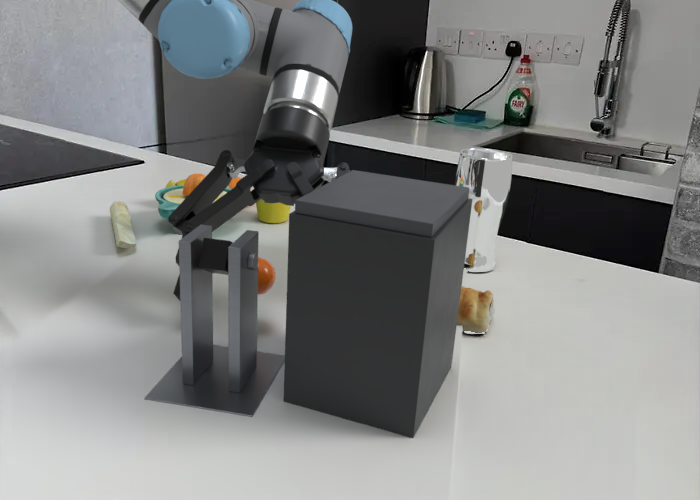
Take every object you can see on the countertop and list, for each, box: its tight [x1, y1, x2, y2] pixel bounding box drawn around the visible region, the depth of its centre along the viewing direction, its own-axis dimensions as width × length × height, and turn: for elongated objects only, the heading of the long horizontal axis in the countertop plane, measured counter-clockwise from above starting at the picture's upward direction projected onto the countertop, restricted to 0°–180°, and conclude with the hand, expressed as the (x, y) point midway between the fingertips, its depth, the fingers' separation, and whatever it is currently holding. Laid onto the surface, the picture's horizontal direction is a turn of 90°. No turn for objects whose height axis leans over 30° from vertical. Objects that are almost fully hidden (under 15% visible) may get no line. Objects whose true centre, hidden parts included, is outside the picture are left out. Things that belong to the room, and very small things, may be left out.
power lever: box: [199, 238, 277, 296], centre depth 60 cm, size 14×4×4 cm, turn 169°
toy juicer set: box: [109, 173, 291, 249], centre depth 99 cm, size 29×18×8 cm, turn 132°
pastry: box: [457, 285, 495, 333], centre depth 74 cm, size 9×7×4 cm
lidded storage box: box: [283, 169, 472, 439], centre depth 56 cm, size 12×12×18 cm
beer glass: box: [454, 147, 514, 270], centre depth 88 cm, size 7×7×15 cm
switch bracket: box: [144, 225, 285, 418], centre depth 56 cm, size 10×9×14 cm
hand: (249, 309), depth 64 cm, fingers open, 13 cm apart
